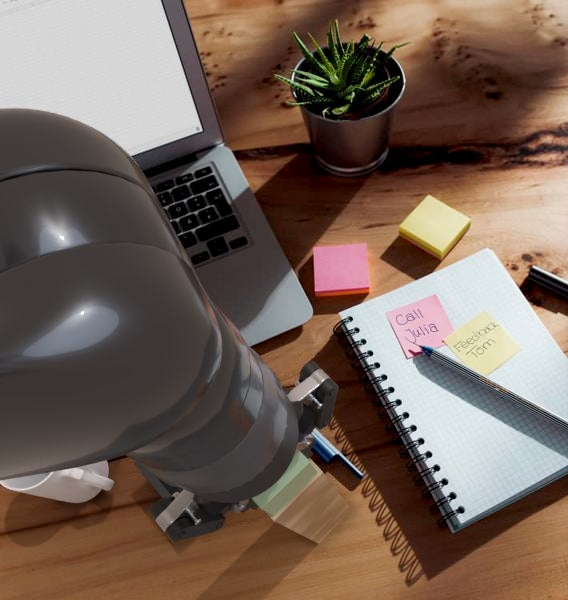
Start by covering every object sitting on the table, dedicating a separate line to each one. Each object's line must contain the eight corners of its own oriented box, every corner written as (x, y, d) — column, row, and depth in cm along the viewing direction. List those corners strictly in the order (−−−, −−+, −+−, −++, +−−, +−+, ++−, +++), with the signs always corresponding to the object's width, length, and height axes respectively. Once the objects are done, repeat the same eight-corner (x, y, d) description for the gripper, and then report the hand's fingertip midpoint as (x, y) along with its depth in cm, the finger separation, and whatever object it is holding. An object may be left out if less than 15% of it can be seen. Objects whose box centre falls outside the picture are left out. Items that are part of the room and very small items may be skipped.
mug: (41, 494, 75) (-22, 477, 64) (71, 438, 78) (15, 413, 67) (119, 523, 74) (68, 511, 63) (147, 465, 76) (103, 444, 66)
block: (273, 516, 49) (261, 509, 45) (235, 473, 50) (219, 462, 46) (318, 472, 50) (310, 461, 46) (279, 431, 52) (268, 417, 48)
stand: (318, 544, 73) (273, 521, 49) (288, 510, 74) (230, 472, 50) (351, 510, 74) (323, 472, 50) (321, 478, 76) (280, 426, 52)
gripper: (271, 284, 38) (312, 374, 53) (58, 466, 34) (170, 505, 49) (362, 373, 35) (377, 440, 51) (146, 578, 31) (234, 582, 47)
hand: (275, 472), depth 50 cm, fingers closed on block, 4 cm apart
